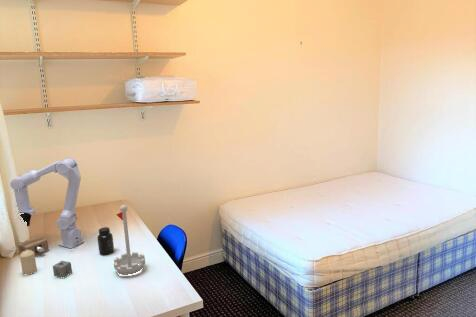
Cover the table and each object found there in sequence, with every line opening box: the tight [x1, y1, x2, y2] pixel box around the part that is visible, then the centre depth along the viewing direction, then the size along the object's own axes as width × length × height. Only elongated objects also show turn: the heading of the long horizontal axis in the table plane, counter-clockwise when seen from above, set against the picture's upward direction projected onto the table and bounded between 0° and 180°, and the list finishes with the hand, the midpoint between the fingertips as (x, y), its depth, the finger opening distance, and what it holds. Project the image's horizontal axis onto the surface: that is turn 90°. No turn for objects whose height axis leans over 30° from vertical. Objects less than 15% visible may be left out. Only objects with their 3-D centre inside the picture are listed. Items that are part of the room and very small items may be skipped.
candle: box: [19, 250, 38, 275], centre depth 163 cm, size 6×6×10 cm
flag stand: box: [113, 204, 146, 275], centre depth 159 cm, size 13×13×30 cm
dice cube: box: [52, 260, 73, 279], centre depth 160 cm, size 5×5×5 cm
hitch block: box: [16, 236, 50, 258], centre depth 181 cm, size 8×10×6 cm
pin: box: [26, 239, 45, 252], centre depth 180 cm, size 12×5×5 cm, turn 62°
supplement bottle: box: [97, 226, 115, 256], centre depth 179 cm, size 7×7×12 cm
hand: (26, 226), depth 189 cm, fingers closed
